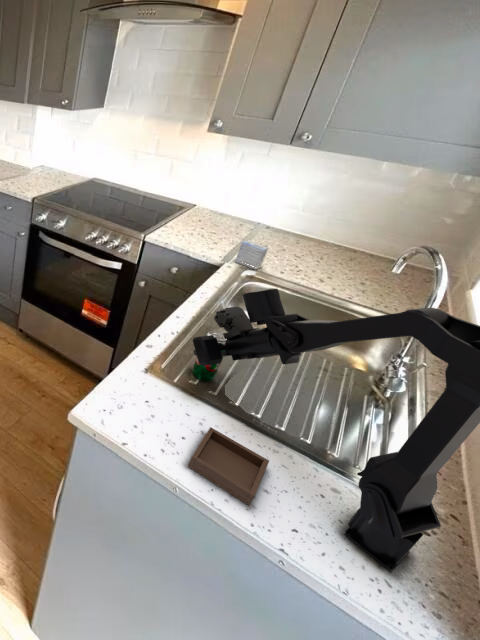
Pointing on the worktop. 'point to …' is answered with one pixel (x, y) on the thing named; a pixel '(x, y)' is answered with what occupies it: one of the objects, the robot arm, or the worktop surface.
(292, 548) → the worktop surface
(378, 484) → the robot arm
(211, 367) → the soda can
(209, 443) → the tray
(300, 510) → the worktop surface
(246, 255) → the medicine box
